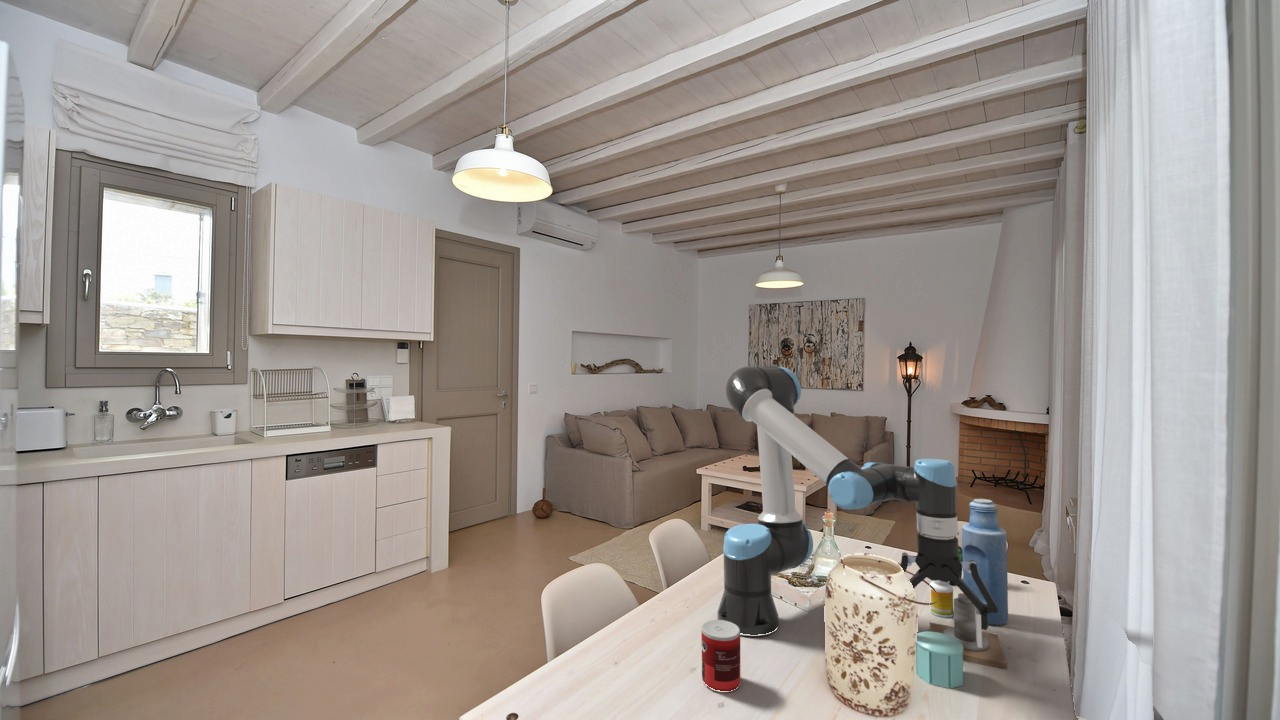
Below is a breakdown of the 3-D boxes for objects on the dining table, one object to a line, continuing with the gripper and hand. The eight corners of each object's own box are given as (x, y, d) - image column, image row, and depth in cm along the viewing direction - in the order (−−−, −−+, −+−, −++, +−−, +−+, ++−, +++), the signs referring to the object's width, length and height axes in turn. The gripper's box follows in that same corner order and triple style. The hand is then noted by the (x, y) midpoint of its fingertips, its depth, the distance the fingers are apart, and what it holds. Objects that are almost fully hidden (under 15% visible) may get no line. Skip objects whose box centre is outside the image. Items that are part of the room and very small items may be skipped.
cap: (915, 681, 111) (915, 646, 111) (915, 660, 119) (914, 628, 119) (965, 692, 107) (965, 656, 107) (961, 670, 115) (961, 636, 115)
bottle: (1017, 621, 137) (1015, 502, 137) (992, 629, 133) (990, 506, 133) (979, 606, 146) (977, 494, 146) (955, 614, 141) (953, 498, 142)
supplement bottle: (956, 619, 139) (956, 580, 139) (933, 617, 140) (933, 579, 140) (949, 609, 144) (948, 572, 144) (926, 608, 145) (926, 571, 145)
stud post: (932, 654, 122) (931, 601, 122) (929, 627, 134) (929, 580, 134) (1006, 669, 115) (1005, 614, 116) (997, 639, 128) (996, 589, 128)
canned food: (714, 667, 116) (713, 616, 117) (747, 681, 111) (747, 627, 112) (694, 683, 111) (693, 629, 111) (728, 698, 106) (728, 641, 106)
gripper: (871, 532, 116) (874, 634, 115) (1011, 547, 105) (1016, 659, 104) (873, 523, 122) (876, 619, 122) (1005, 536, 111) (1009, 641, 111)
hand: (940, 638), depth 113 cm, fingers open, 13 cm apart
